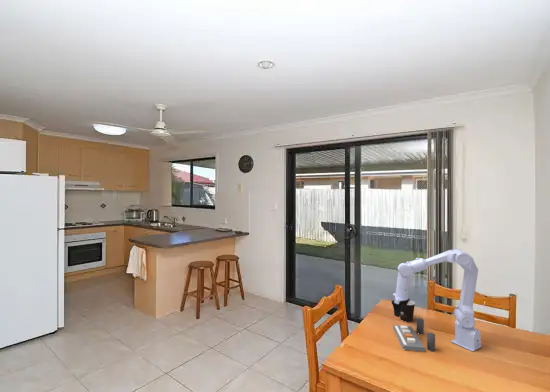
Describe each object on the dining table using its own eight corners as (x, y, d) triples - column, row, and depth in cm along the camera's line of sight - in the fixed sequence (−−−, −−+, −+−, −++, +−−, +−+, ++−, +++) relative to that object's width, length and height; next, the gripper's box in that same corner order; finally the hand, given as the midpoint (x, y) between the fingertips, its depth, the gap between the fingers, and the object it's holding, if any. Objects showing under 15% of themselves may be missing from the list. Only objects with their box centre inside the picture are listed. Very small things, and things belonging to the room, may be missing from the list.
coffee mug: (418, 323, 151) (417, 305, 151) (402, 323, 151) (401, 305, 151) (408, 313, 163) (407, 297, 163) (393, 314, 163) (393, 297, 163)
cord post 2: (436, 350, 125) (436, 334, 125) (432, 352, 124) (432, 336, 124) (429, 346, 128) (429, 331, 128) (425, 348, 126) (425, 333, 126)
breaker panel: (393, 328, 145) (393, 322, 145) (411, 330, 144) (411, 323, 144) (403, 350, 126) (403, 342, 126) (424, 351, 124) (424, 344, 124)
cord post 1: (425, 333, 140) (425, 319, 140) (421, 335, 138) (421, 321, 138) (419, 331, 143) (419, 317, 143) (415, 332, 141) (415, 319, 141)
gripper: (398, 282, 146) (395, 307, 147) (389, 288, 135) (386, 315, 136) (413, 286, 142) (409, 312, 142) (404, 293, 131) (401, 320, 131)
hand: (399, 313), depth 139 cm, fingers open, 7 cm apart
